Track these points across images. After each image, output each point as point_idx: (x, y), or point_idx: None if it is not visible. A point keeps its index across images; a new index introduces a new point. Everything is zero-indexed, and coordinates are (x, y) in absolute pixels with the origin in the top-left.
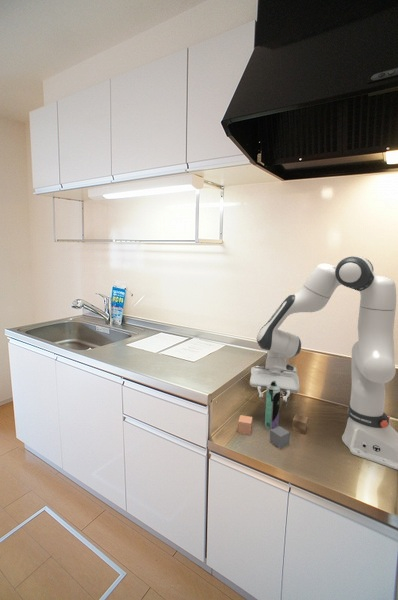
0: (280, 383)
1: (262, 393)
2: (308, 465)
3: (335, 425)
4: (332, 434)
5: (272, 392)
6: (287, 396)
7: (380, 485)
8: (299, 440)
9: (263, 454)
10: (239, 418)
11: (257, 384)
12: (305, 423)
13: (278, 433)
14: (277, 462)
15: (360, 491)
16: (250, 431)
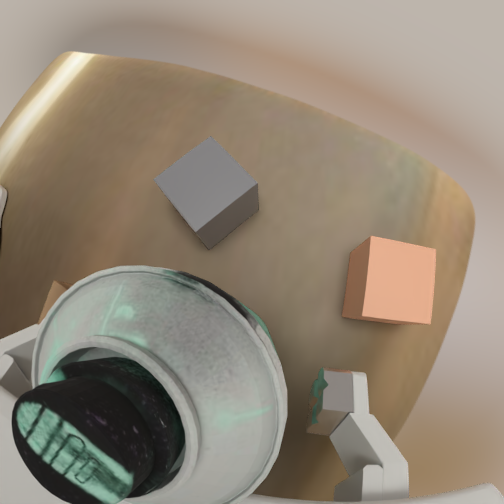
0: (13, 472)
1: (332, 404)
2: (144, 108)
3: None
4: (8, 296)
5: (187, 273)
6: (33, 326)
7: (28, 102)
8: (120, 239)
9: (294, 130)
10: (433, 284)
11: (427, 498)
12: (55, 280)
13: (217, 158)
14: (245, 101)
15: (73, 72)
16: (357, 247)
